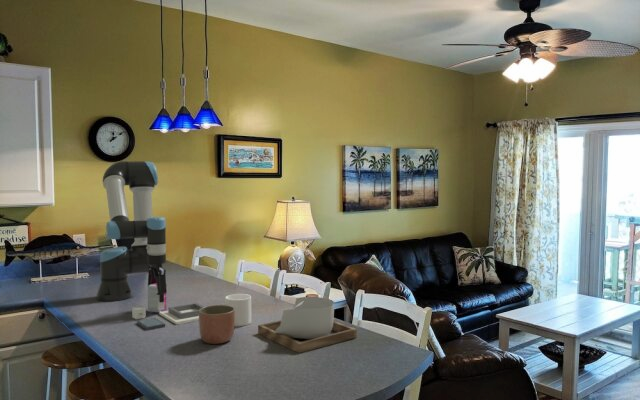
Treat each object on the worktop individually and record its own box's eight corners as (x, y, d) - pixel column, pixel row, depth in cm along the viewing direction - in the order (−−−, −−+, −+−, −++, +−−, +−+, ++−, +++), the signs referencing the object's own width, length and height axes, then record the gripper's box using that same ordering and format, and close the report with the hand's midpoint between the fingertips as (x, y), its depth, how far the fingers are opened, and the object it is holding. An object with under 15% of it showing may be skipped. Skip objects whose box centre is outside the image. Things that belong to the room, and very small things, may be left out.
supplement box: (160, 313, 207) (159, 286, 206) (147, 312, 208) (146, 285, 207) (167, 310, 212) (166, 283, 212) (154, 309, 213) (154, 282, 213)
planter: (217, 348, 165) (217, 316, 165) (191, 342, 172) (190, 310, 171) (242, 338, 176) (242, 308, 175) (216, 332, 182) (216, 303, 182)
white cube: (132, 317, 202) (132, 307, 201) (142, 315, 204) (142, 305, 204) (136, 319, 198) (135, 309, 198) (146, 318, 201) (146, 308, 200)
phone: (136, 323, 193) (136, 320, 193) (154, 320, 197) (154, 317, 197) (146, 330, 184) (146, 327, 184) (165, 326, 189) (165, 324, 189)
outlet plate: (159, 314, 206) (159, 307, 205) (199, 307, 217) (199, 300, 217) (176, 324, 191) (176, 317, 191) (218, 316, 203) (218, 309, 203)
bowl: (328, 345, 168) (329, 310, 168) (273, 340, 171) (274, 306, 171) (336, 329, 187) (337, 297, 187) (287, 325, 191) (288, 294, 191)
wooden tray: (258, 333, 181) (258, 325, 181) (313, 321, 197) (313, 313, 197) (299, 352, 162) (299, 343, 161) (356, 337, 177) (356, 329, 177)
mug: (256, 323, 194) (256, 297, 194) (234, 328, 187) (234, 301, 187) (238, 316, 203) (238, 291, 203) (217, 321, 197) (216, 295, 196)
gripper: (139, 251, 215) (139, 303, 216) (156, 257, 198) (157, 314, 200) (156, 250, 219) (156, 301, 220) (174, 256, 203) (175, 311, 204)
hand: (157, 307), depth 210 cm, fingers closed on supplement box, 8 cm apart
